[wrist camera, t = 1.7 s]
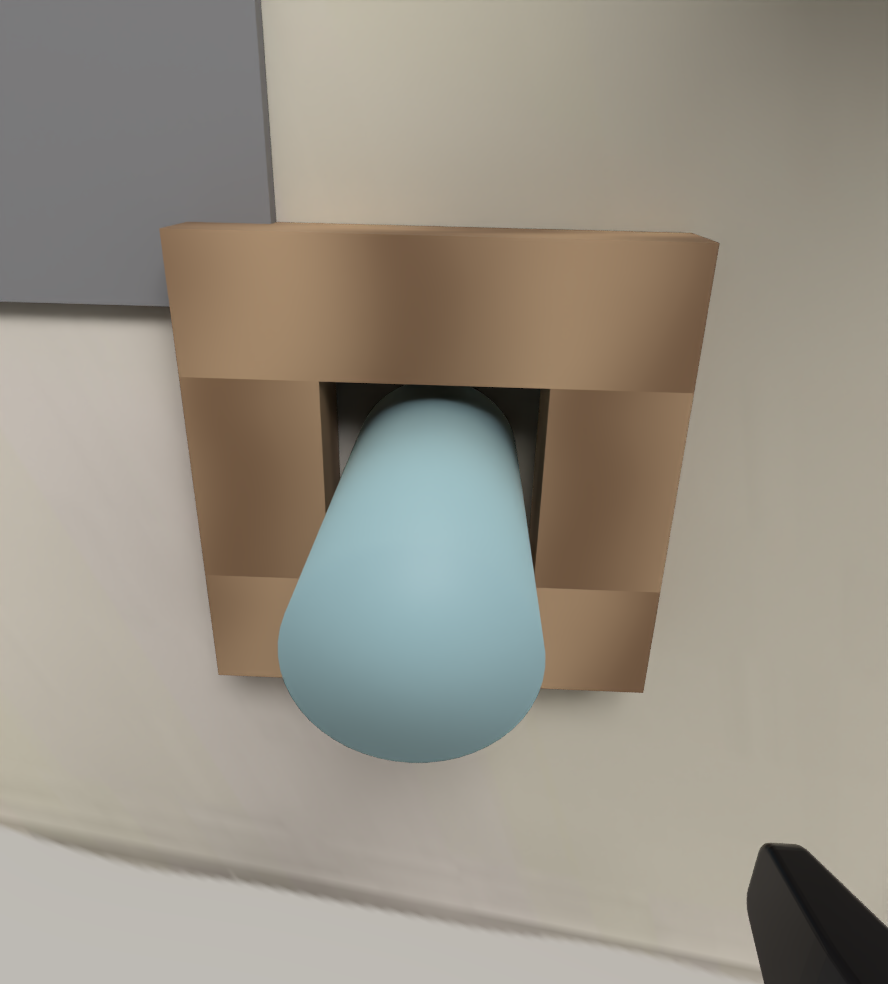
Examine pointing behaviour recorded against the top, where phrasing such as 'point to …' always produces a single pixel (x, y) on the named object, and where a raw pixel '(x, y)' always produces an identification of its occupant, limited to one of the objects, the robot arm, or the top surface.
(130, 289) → the mat
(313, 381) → the pocket block
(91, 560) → the top surface
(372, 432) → the peg
